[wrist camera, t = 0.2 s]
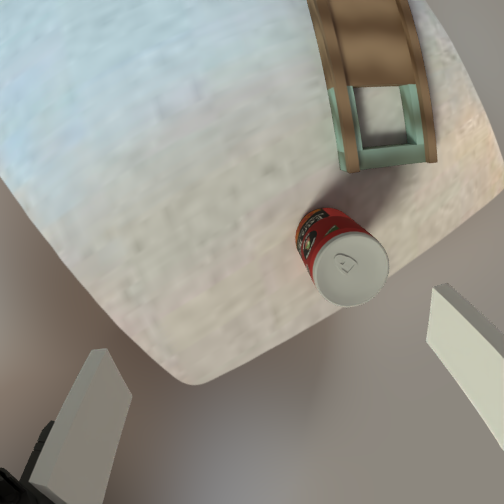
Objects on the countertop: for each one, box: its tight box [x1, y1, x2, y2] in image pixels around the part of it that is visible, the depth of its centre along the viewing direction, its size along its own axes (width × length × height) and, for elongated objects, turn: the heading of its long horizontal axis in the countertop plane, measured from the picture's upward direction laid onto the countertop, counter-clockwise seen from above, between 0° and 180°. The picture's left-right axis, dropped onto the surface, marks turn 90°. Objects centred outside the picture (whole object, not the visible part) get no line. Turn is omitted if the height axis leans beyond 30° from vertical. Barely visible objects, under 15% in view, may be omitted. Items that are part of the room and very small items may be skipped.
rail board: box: [307, 0, 437, 173], centre depth 30 cm, size 26×12×4 cm, turn 11°
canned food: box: [295, 208, 389, 307], centre depth 35 cm, size 8×8×11 cm
